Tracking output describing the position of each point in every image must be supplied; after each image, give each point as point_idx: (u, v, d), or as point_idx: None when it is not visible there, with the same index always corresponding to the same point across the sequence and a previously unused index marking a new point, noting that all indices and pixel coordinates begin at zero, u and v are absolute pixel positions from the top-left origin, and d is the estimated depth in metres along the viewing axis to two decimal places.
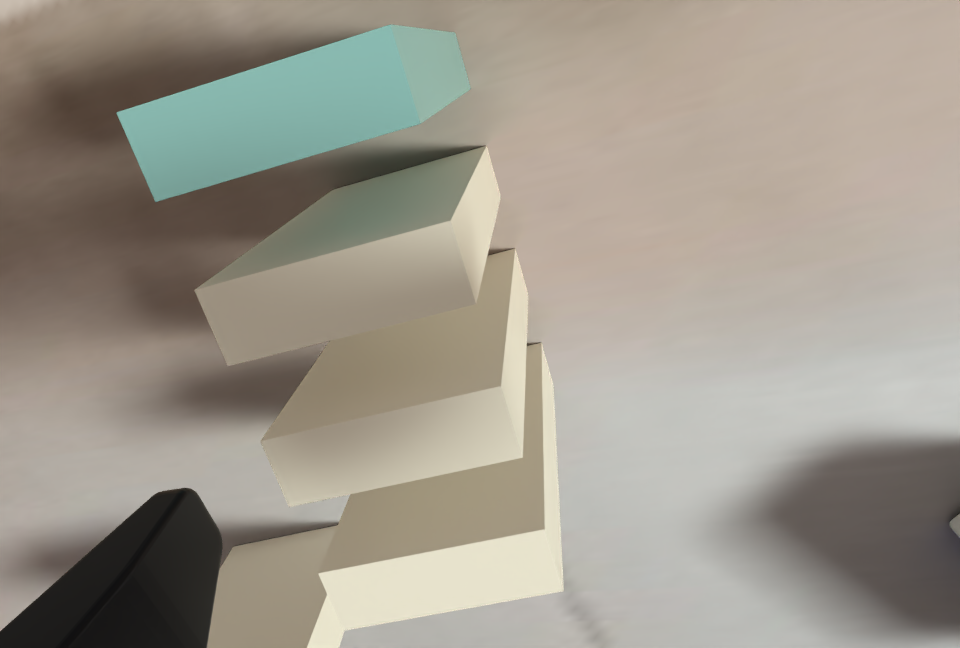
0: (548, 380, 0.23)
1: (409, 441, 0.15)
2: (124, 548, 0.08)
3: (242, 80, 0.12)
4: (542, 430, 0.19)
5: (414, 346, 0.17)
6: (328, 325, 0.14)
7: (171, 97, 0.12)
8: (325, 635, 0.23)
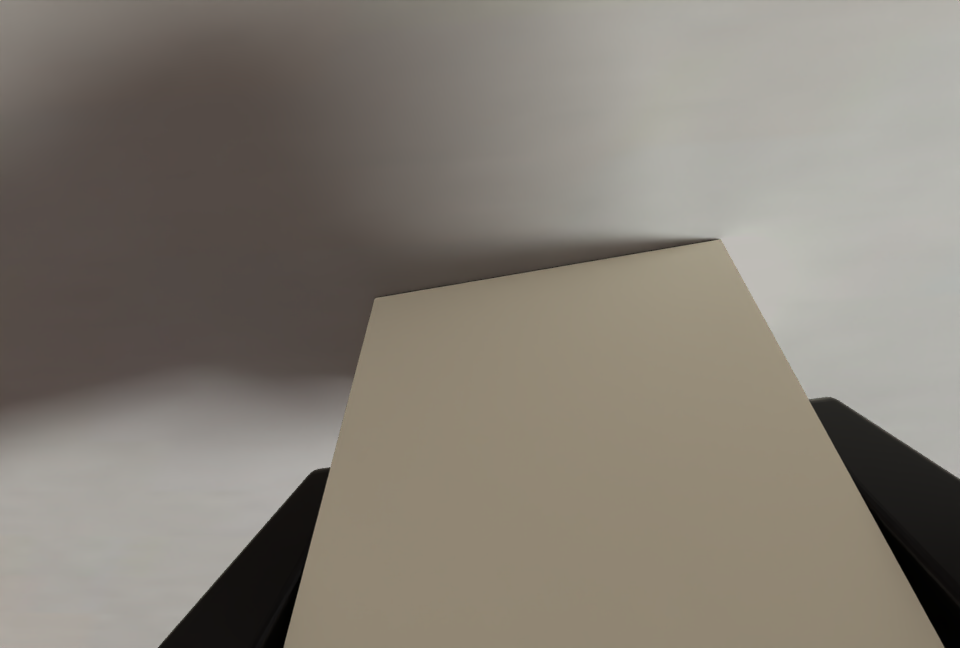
0: None
1: None
2: (299, 525, 0.07)
3: None
4: None
5: None
6: None
7: None
8: None
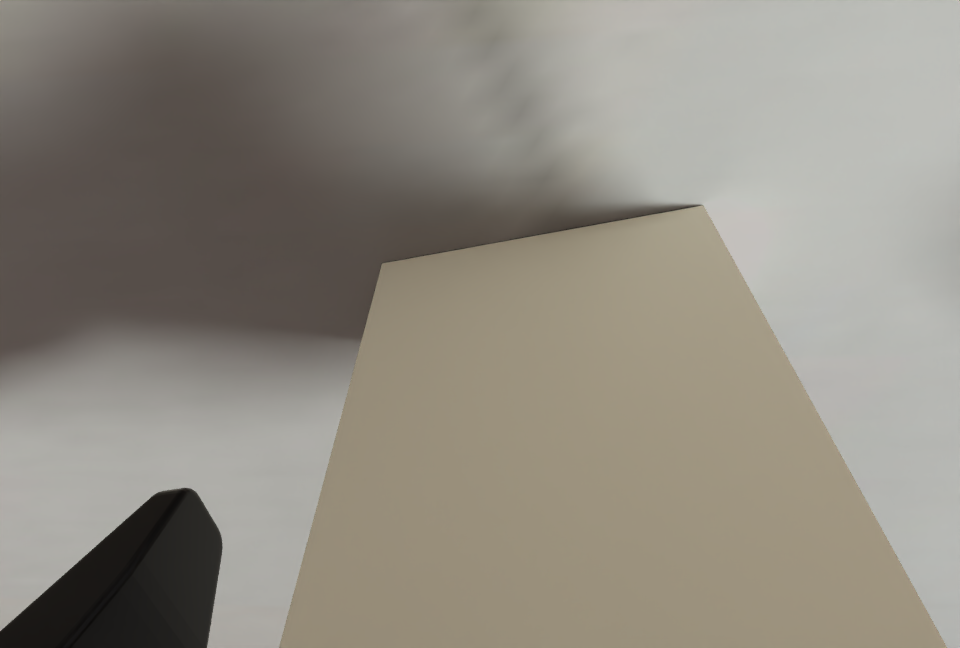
0: None
1: None
2: (124, 548, 0.08)
3: None
4: None
5: None
6: None
7: None
8: None
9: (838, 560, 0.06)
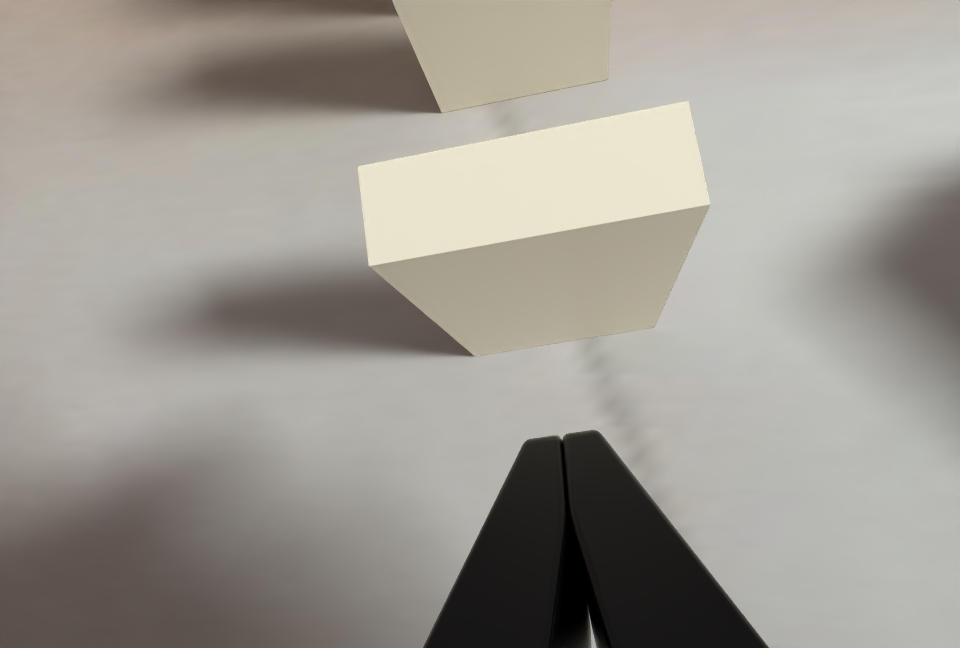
0: None
1: None
2: (540, 493, 0.07)
3: None
4: None
5: None
6: None
7: None
8: None
9: None
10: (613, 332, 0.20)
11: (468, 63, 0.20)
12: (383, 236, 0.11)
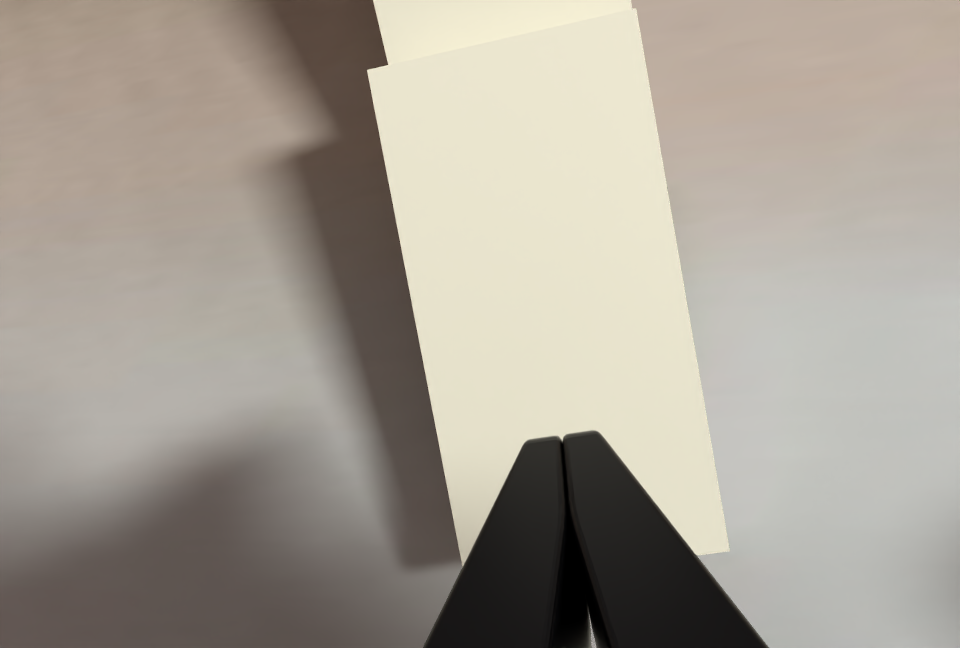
0: None
1: None
2: (539, 493, 0.07)
3: None
4: None
5: None
6: None
7: None
8: None
9: None
10: None
11: None
12: None
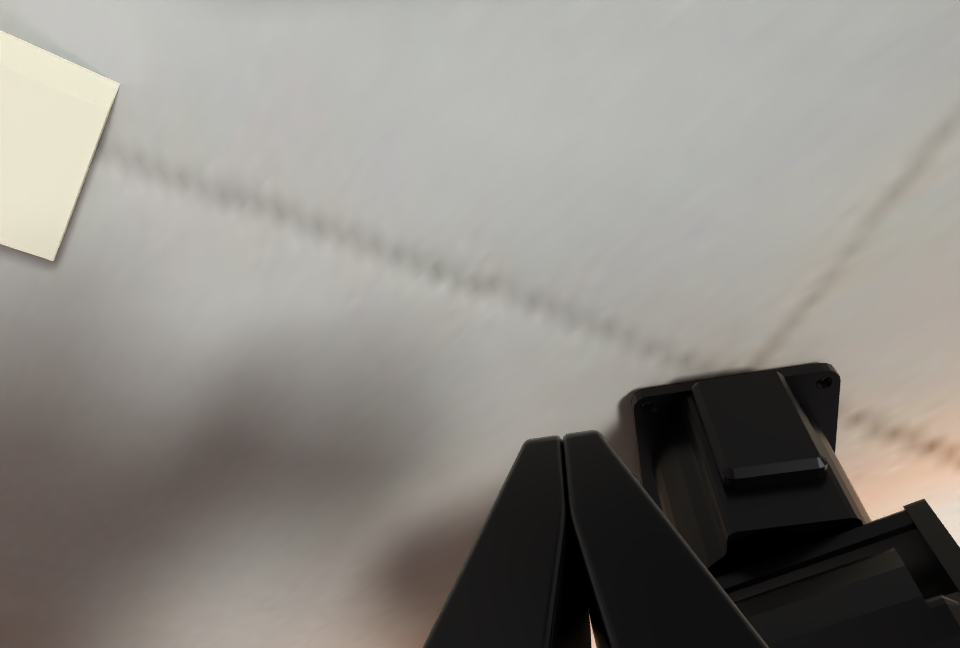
0: None
1: None
2: (540, 493, 0.07)
3: None
4: None
5: None
6: None
7: None
8: None
9: None
10: (83, 143, 0.18)
11: None
12: None
